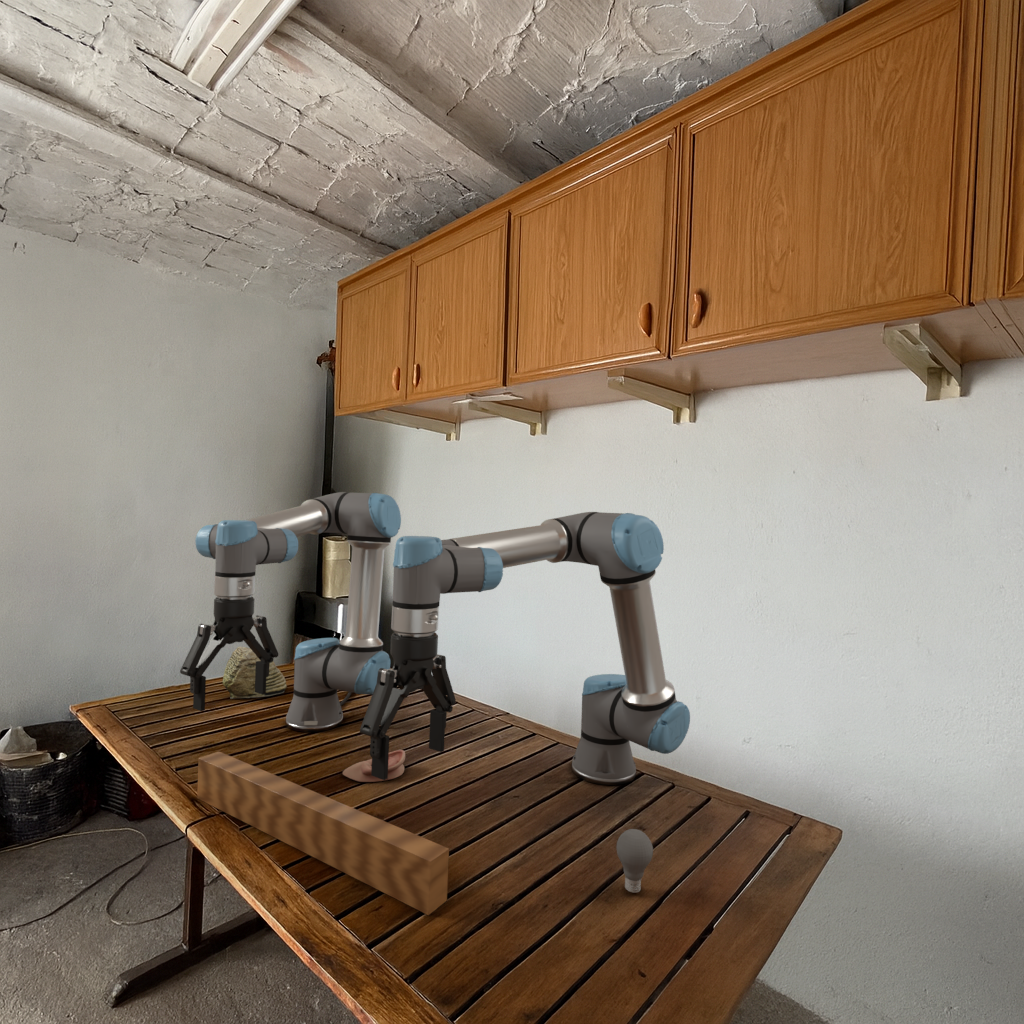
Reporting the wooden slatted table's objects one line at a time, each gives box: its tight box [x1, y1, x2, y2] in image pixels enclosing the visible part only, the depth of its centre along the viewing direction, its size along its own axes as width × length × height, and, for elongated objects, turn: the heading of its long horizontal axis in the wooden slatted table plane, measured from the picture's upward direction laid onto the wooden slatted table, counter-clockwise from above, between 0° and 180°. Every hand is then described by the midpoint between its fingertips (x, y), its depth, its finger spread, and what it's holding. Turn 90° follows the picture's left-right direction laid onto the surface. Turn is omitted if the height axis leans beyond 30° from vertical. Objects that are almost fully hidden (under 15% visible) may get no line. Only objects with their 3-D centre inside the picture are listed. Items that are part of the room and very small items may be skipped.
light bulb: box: [615, 828, 654, 894], centre depth 106 cm, size 6×6×10 cm
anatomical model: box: [342, 749, 406, 783], centre depth 146 cm, size 13×4×12 cm
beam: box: [196, 751, 450, 916], centre depth 116 cm, size 62×5×8 cm, turn 57°
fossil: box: [222, 646, 288, 699], centre depth 198 cm, size 9×18×15 cm, turn 132°
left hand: (230, 700), depth 128 cm, fingers open, 13 cm apart
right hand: (409, 762), depth 102 cm, fingers open, 13 cm apart
